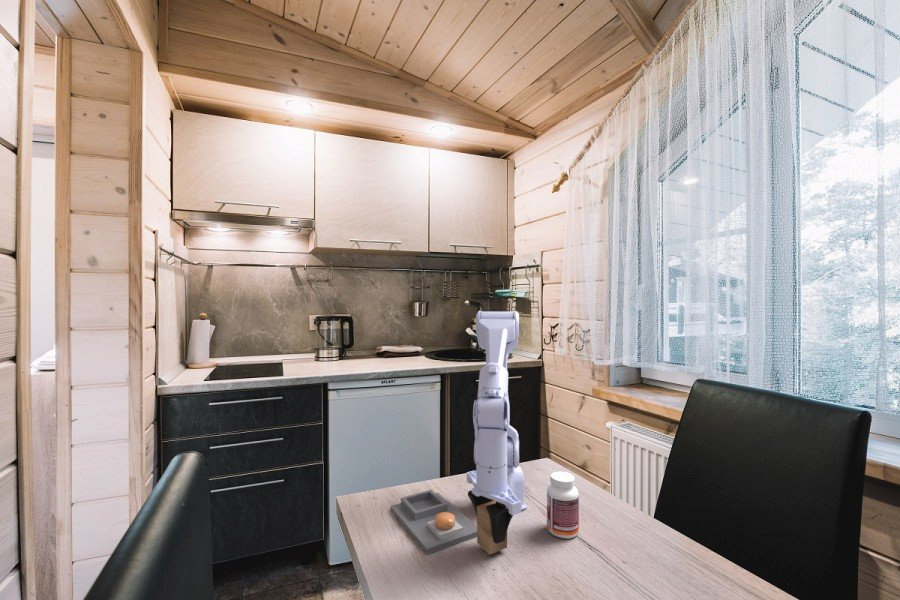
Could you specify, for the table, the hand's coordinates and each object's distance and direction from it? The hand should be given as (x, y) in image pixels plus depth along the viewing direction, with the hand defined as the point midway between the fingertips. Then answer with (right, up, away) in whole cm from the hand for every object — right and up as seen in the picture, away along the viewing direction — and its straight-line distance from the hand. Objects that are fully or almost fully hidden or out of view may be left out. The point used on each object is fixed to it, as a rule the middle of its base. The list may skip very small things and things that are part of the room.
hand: (492, 534), depth 77 cm
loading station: (-11, -3, +10) cm, 15 cm away
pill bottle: (+15, -3, +6) cm, 16 cm away
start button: (-9, -1, +5) cm, 10 cm away
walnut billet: (0, -2, 0) cm, 2 cm away
